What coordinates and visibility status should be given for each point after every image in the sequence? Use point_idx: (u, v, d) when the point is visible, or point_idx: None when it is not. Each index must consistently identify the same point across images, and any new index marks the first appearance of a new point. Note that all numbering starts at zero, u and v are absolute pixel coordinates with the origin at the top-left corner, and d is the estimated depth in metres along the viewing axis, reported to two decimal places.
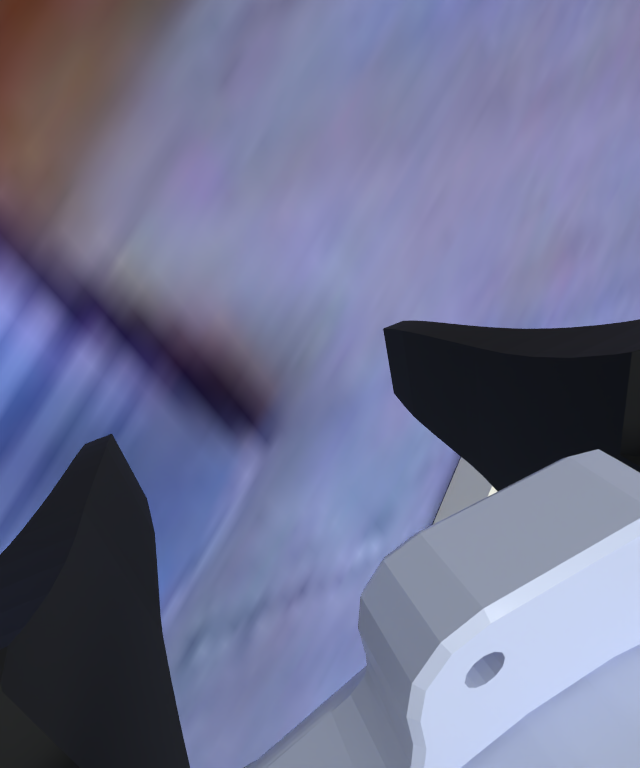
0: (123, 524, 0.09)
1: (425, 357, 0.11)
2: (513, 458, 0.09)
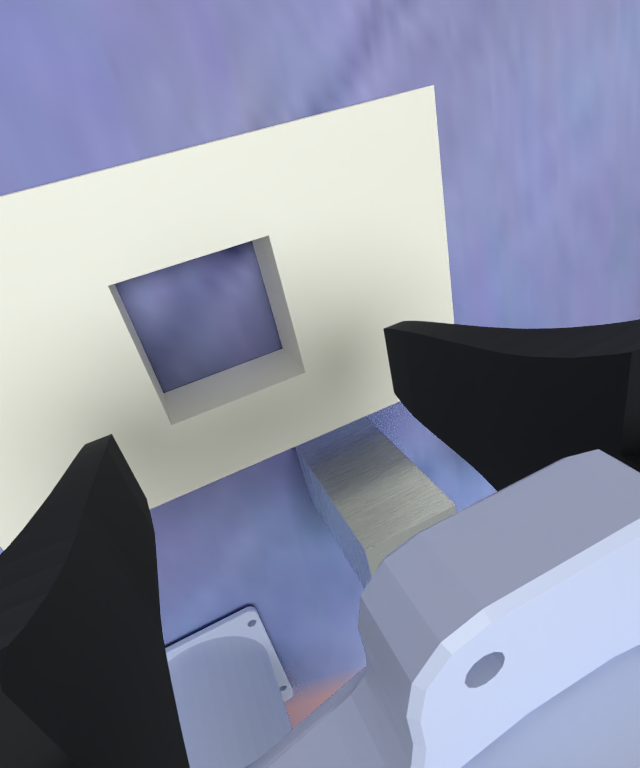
0: (122, 524, 0.09)
1: (425, 357, 0.11)
2: (513, 458, 0.09)
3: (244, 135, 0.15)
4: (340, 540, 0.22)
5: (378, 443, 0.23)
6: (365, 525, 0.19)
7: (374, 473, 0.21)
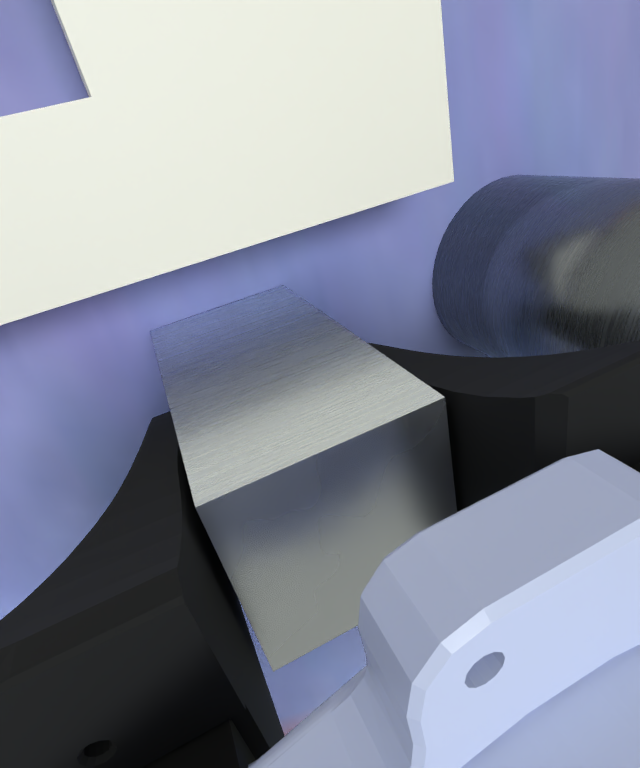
0: None
1: None
2: None
3: None
4: None
5: (298, 315, 0.12)
6: (218, 449, 0.07)
7: (275, 358, 0.10)
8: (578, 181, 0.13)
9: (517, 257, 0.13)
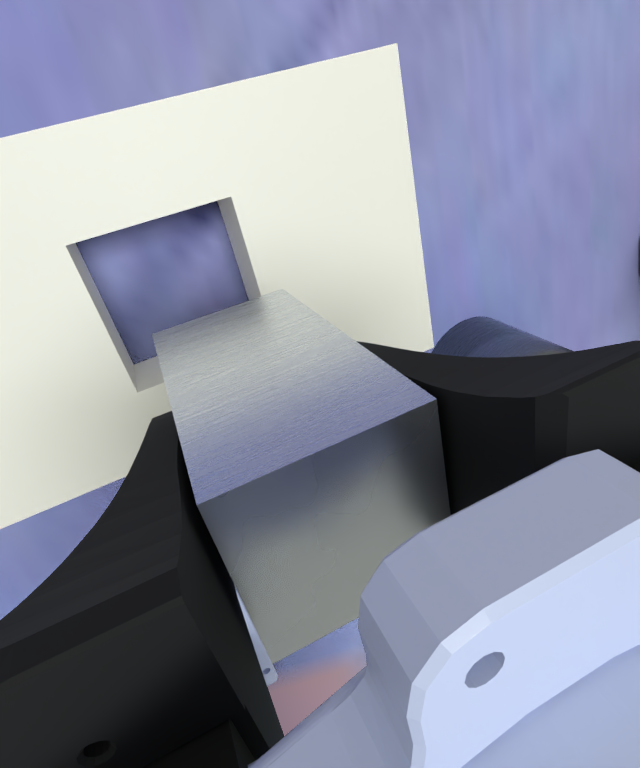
0: None
1: None
2: (448, 490, 0.09)
3: (201, 91, 0.15)
4: None
5: (296, 319, 0.12)
6: (219, 450, 0.08)
7: (274, 361, 0.10)
8: (502, 336, 0.24)
9: None
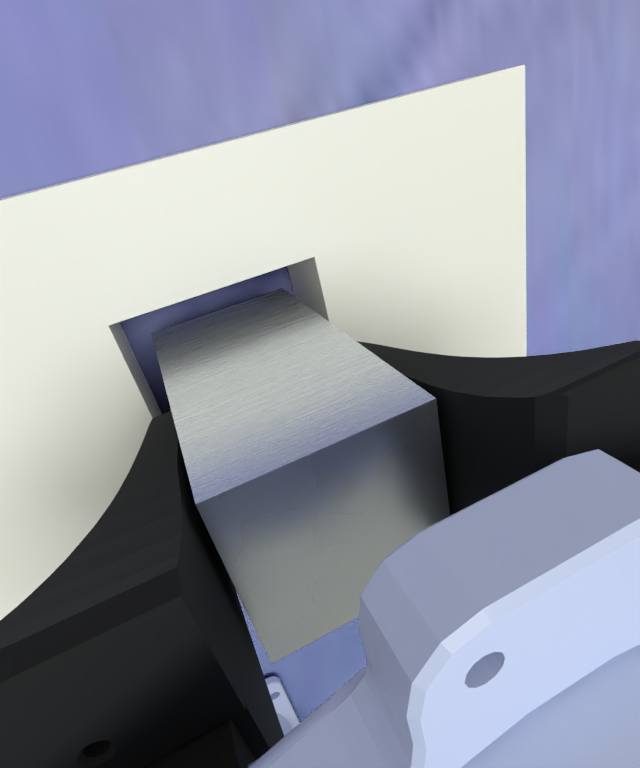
0: None
1: None
2: (448, 491, 0.09)
3: (288, 127, 0.12)
4: None
5: (296, 318, 0.12)
6: (218, 449, 0.08)
7: (273, 360, 0.10)
8: None
9: None
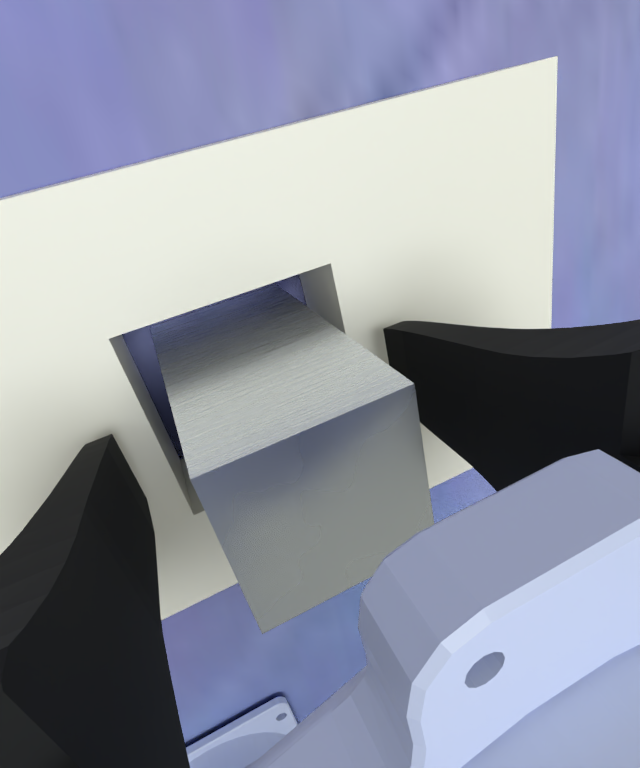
0: (123, 524, 0.09)
1: (425, 357, 0.11)
2: (513, 458, 0.09)
3: (304, 123, 0.11)
4: None
5: (288, 312, 0.13)
6: (212, 431, 0.08)
7: (265, 351, 0.11)
8: None
9: None
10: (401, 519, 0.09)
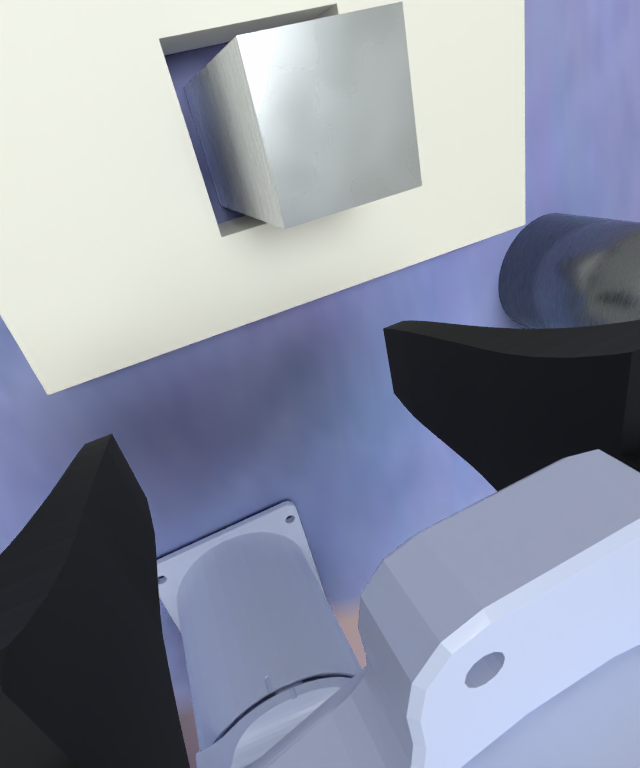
0: (122, 524, 0.09)
1: (425, 357, 0.11)
2: (513, 458, 0.09)
3: None
4: (238, 180, 0.14)
5: None
6: None
7: None
8: (593, 221, 0.22)
9: (558, 266, 0.22)
10: (393, 147, 0.12)
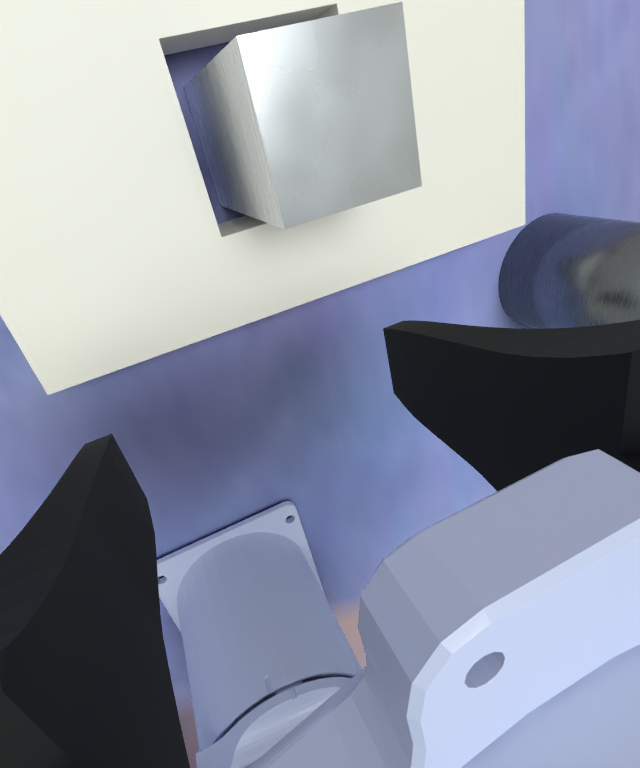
0: (122, 524, 0.09)
1: (425, 357, 0.11)
2: (513, 458, 0.09)
3: None
4: (238, 180, 0.14)
5: None
6: None
7: None
8: (593, 221, 0.22)
9: (558, 266, 0.22)
10: (393, 148, 0.12)
